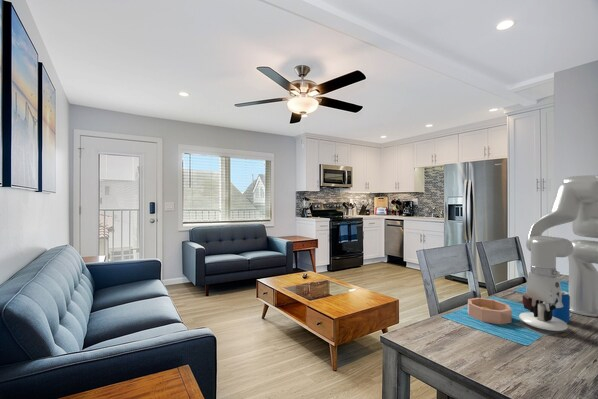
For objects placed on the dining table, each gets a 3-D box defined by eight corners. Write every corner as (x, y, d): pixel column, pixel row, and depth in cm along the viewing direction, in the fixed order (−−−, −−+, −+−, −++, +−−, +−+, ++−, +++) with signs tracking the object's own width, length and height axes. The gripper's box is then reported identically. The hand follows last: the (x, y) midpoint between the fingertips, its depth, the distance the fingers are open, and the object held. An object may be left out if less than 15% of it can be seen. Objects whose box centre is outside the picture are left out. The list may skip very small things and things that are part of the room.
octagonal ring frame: (484, 308, 134) (485, 296, 134) (518, 322, 120) (519, 308, 120) (460, 312, 129) (460, 300, 129) (492, 327, 115) (492, 313, 115)
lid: (534, 312, 124) (534, 296, 124) (576, 326, 111) (576, 308, 110) (510, 317, 119) (510, 300, 119) (551, 333, 106) (551, 314, 105)
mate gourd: (540, 315, 126) (541, 280, 126) (518, 310, 132) (518, 276, 132) (544, 311, 131) (545, 277, 131) (522, 306, 137) (523, 273, 137)
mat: (538, 319, 122) (538, 318, 122) (570, 331, 112) (570, 329, 112) (513, 324, 117) (513, 323, 117) (544, 337, 107) (544, 336, 107)
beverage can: (573, 325, 117) (574, 295, 117) (554, 323, 119) (555, 293, 118) (562, 318, 124) (563, 289, 124) (544, 317, 125) (545, 288, 125)
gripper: (574, 275, 108) (574, 325, 108) (526, 265, 123) (526, 309, 124) (561, 278, 105) (561, 329, 106) (514, 267, 121) (514, 311, 121)
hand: (542, 317), depth 115 cm, fingers closed on lid, 3 cm apart
